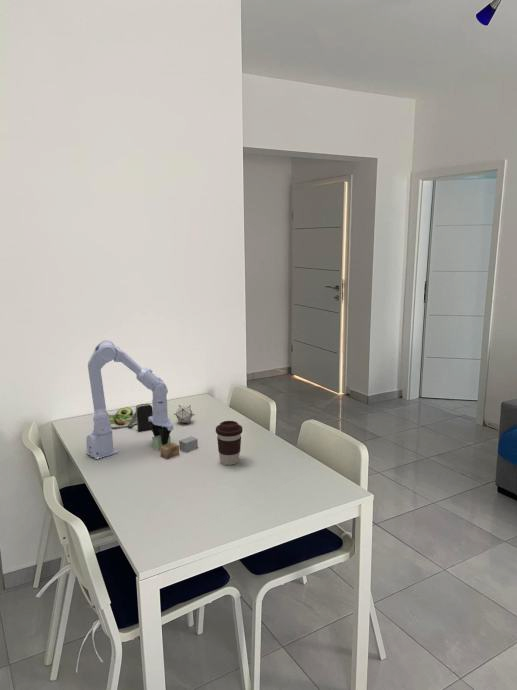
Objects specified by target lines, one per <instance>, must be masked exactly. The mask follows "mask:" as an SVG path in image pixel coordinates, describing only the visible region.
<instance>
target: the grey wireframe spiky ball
mask: <svg viewBox="0 0 517 690" xmlns="http://www.w3.org/2000/svg"><path fill="white" fill-rule="evenodd" d="M173 415H174V416H175V417H176V419H177V421H178V422H177V424H180V423H183V424H184V423H187V424H189V425H190V421H191V420H192V418H193V416H195V414H194V413H193V411H192V409H191V405H189V406H181V405H180V404H179V405H178V409H177V410H176V413H174V414H173Z"/></svg>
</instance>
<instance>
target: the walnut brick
mask: <svg viewBox="0 0 517 690" xmlns="http://www.w3.org/2000/svg"><path fill="white" fill-rule="evenodd" d="M159 452H160V457H161V458H164V459H165V460H169V459H171V458H175V457H177V456H180V448H179V444H177V443H175V442H171V443H170V444H167V445H164V446H161V447H160V449H159ZM174 456H175V457H174Z"/></svg>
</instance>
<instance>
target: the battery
mask: <svg viewBox="0 0 517 690" xmlns="http://www.w3.org/2000/svg"><path fill="white" fill-rule="evenodd" d="M135 412H136V417H137V424H136V425H137V431H138V432H143V431H150V430H151V428H150V427H149V425H151V424H152V422H149V419H148V417H150V416H153V405H151V404H150V403H140V404H138V405H136V407H135Z"/></svg>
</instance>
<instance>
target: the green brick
mask: <svg viewBox="0 0 517 690" xmlns="http://www.w3.org/2000/svg"><path fill="white" fill-rule="evenodd" d="M151 442H152V444H151V445H152V447H153V448H154V447H155V448H154V449H156V448H157V449H156V450H160V447H161V446H164V445H162V442H161V436H160V435H158V436H155V437H154V436H152V440H151ZM170 443H172V441H171V435H169V438H168V443H167V444H170ZM167 444H165V445H167Z"/></svg>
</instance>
